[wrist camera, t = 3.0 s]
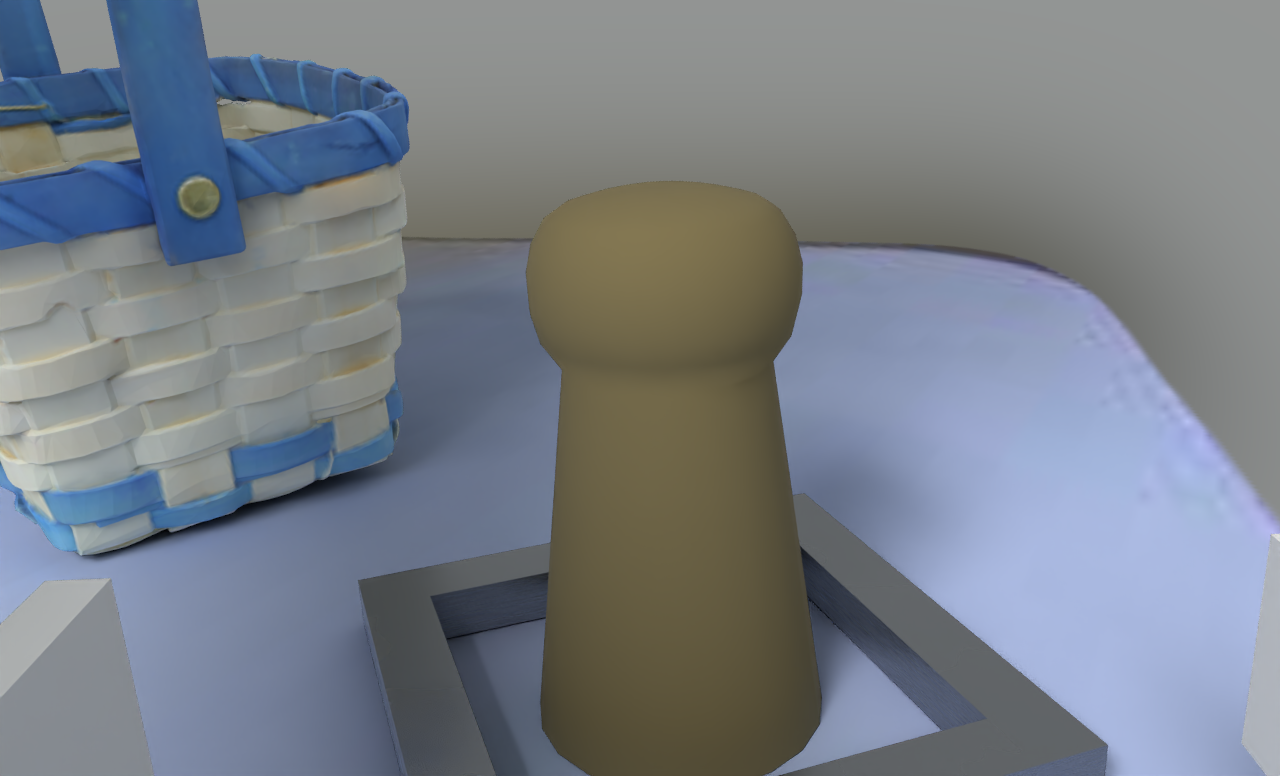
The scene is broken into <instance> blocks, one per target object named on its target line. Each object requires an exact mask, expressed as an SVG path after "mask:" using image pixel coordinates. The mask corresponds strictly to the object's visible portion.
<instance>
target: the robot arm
mask: <svg viewBox="0 0 1280 776" xmlns="http://www.w3.org/2000/svg"><path fill="white" fill-rule="evenodd" d="M1242 744H1243V746H1244V747H1245V748H1246V750H1247V751H1248V752H1249V753H1250V755H1251V756H1252V757H1253V759H1254V760H1255V761H1256V762H1257V764H1258V765H1259V766H1260V768H1261V769H1262V770H1263V771H1264V773H1265V774H1266V775H1267V776H1280V534H1271V538H1270V545H1269V552H1268V559H1267V566H1266V573H1265V580H1264V587H1263V594H1262V601H1261V608H1260V616H1259V623H1258V630H1257V637H1256V644H1255V651H1254V658H1253V665H1252V672H1251V679H1250V686H1249V693H1248V700H1247V708H1246V715H1245V722H1244V729H1243V736H1242ZM0 776H154V772H153V768H152V763H151V759H150V754H149V749H148V745H147V740H146V736H145V731H144V727H143V722H142V718H141V713H140V709H139V704H138V699H137V695H136V690H135V686H134V681H133V677H132V672H131V668H130V663H129V659H128V654H127V650H126V645H125V640H124V636H123V631H122V627H121V622H120V618H119V613H118V609H117V604H116V600H115V595H114V590H113V586H112V581H111V578H109V579H82V580H56V581H44V582H43V583H42V584H41V585H40V586H39V587H38V588H37V589H36V590H35V591H34V592H33V593H32V594H31V595H30V596H29V597H28V598H27V599H26V600H25V601H24V602H23V603H22V604H21V605H20V606H19V607H18V608H17V609H16V610H15V611H14V612H13V613H12V614H11V615H9V616H8V617H7V618H6V619H5V620H4V621H3V622H2V623H1V624H0Z"/></svg>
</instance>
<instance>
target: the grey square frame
mask: <svg viewBox="0 0 1280 776" xmlns="http://www.w3.org/2000/svg"><path fill="white" fill-rule="evenodd" d="M793 502H794V509H795V516H796V523H797V530H798V537H799V544H800V551H801V558H802V565H803V572H804V579H805V585H806V592H807V596H808V597H809V598H810V599H811V600H812V601H813V602H814V603H815V604H816V605H817V606H818V607H819V608H820V609H821V610H822V611H823V612H824V613H825V614H826V615H827V616H828V617H829V618H830V619H831V620H832V621H833V622H834V623H835V624H836V625H837V626H838V627H839V628H840V629H841V630H842V631H843V632H844V633H845V634H846V635H847V636H848V637H849V638H850V639H851V640H852V641H853V642H854V643H855V644H856V645H857V646H858V647H859V648H860V649H861V650H862V651H863V652H864V653H865V654H866V655H867V656H868V657H869V658H870V659H871V660H872V661H873V662H874V663H875V664H876V665H877V666H878V667H879V668H880V669H881V670H882V671H883V672H884V673H885V674H886V675H887V676H888V677H889V678H890V679H891V680H892V681H893V682H894V683H895V684H896V685H897V686H898V687H899V688H900V689H901V690H902V691H903V692H904V693H905V694H906V695H907V696H908V697H909V698H910V699H911V700H912V701H913V702H914V703H915V704H916V705H917V706H918V707H919V708H920V709H921V710H922V711H923V712H924V713H925V714H926V715H927V716H928V717H929V718H930V719H931V720H932V721H933V722H934V723H935V724H936V725H937V726H938V727H939V728H940V729H941V730H942V731H940V732H936V733H933V734H929V735H925V736H922V737H918V738H915V739H911V740H907V741H904V742H900V743H896V744H893V745H889V746H885V747H882V748H878V749H874V750H871V751H867V752H863V753H860V754H856V755H852V756H849V757H845V758H841V759H838V760H834V761H831V762H827V763H823V764H820V765H816V766H812V767H809V768H805V769H801V770H798V771H794V772H790V773H787V774H783V775H779V776H1105V768H1106V758H1107V749H1108V745H1107V744H1106V743H1105V742H1104V741H1102V740H1101V739H1100V738H1099V737H1098V736H1096V735H1095V734H1094V733H1093V732H1092V731H1090V730H1089V729H1088V728H1087V727H1085V726H1084V725H1083V724H1082V723H1081V722H1079V721H1078V720H1077V719H1076V718H1075V717H1073V716H1072V715H1071V714H1070V713H1069V712H1067V711H1066V710H1065V709H1064V708H1063V707H1061V706H1060V705H1059V704H1058V703H1057V702H1055V701H1054V700H1053V699H1052V698H1050V697H1049V696H1048V695H1047V694H1046V693H1044V692H1043V691H1042V690H1041V689H1040V688H1038V687H1037V686H1036V685H1035V684H1034V683H1032V682H1031V681H1030V680H1029V679H1028V678H1026V677H1025V676H1024V675H1023V674H1022V673H1020V672H1019V671H1018V670H1017V669H1015V668H1014V667H1013V666H1012V665H1011V664H1009V663H1008V662H1007V661H1006V660H1005V659H1003V658H1002V657H1001V656H1000V655H999V654H997V653H996V652H995V651H994V650H993V649H991V648H990V647H989V646H988V645H987V644H985V643H984V642H983V641H982V640H980V639H979V638H978V637H977V636H976V635H974V634H973V633H972V632H971V631H970V630H968V629H967V628H966V627H965V626H964V625H962V624H961V623H960V622H959V621H958V620H956V619H955V618H954V617H953V616H952V615H950V614H949V613H948V612H947V611H945V610H944V609H943V608H942V607H941V606H939V605H938V604H937V603H936V602H935V601H933V600H932V599H931V598H930V597H929V596H927V595H926V594H925V593H924V592H923V591H921V590H920V589H919V588H918V587H917V586H915V585H914V584H913V583H912V582H910V581H909V580H908V579H907V578H906V577H904V576H903V575H902V574H901V573H900V572H898V571H897V570H896V569H895V568H894V567H892V566H891V565H890V564H889V563H888V562H886V561H885V560H884V559H883V558H882V557H880V556H879V555H878V554H877V553H875V552H874V551H873V550H872V549H871V548H869V547H868V546H867V545H866V544H865V543H863V542H862V541H861V540H860V539H859V538H857V537H856V536H855V535H854V534H853V533H851V532H850V531H849V530H848V529H847V528H845V527H844V526H843V525H842V524H840V523H839V522H838V521H837V520H836V519H834V518H833V517H832V516H831V515H830V514H828V513H827V512H826V511H825V510H824V509H822V508H821V507H820V506H819V505H818V504H816V503H815V502H814V501H813V500H812V499H810V498H809V497H808V496H807V495H805V494H804V493H803V494H798V495H793ZM550 546H551V543H547V544H542V545H537V546H531V547H526V548H521V549H516V550H511V551H506V552H501V553H496V554H491V555H485V556H480V557H475V558H470V559H465V560H460V561H455V562H450V563H444V564H439V565H434V566H429V567H424V568H419V569H414V570H409V571H403V572H398V573H393V574H388V575H383V576H378V577H373V578H368V579H362V580H358V584H359V591H360V598H361V605H362V613H363V620H364V626H365V630H366V634H367V638H368V642H369V646H370V650H371V654H372V658H373V662H374V666H375V670H376V674H377V678H378V682H379V687H380V691H381V695H382V699H383V703H384V707H385V711H386V715H387V719H388V723H389V727H390V731H391V735H392V739H393V743H394V748H395V752H396V756H397V760H398V764H399V768H400V772H401V776H496V773H495V771H494V768H493V765H492V763H491V760H490V757H489V754H488V752H487V749H486V746H485V744H484V741H483V738H482V735H481V733H480V730H479V727H478V725H477V722H476V719H475V716H474V714H473V711H472V708H471V706H470V703H469V700H468V698H467V695H466V692H465V689H464V687H463V684H462V681H461V679H460V676H459V673H458V670H457V668H456V665H455V662H454V660H453V657H452V654H451V651H450V649H449V646H448V643H447V641H446V638H451V637H455V636H460V635H465V634H469V633H474V632H479V631H483V630H488V629H493V628H497V627H502V626H507V625H511V624H516V623H521V622H525V621H530V620H535V619H539V618H544V617H546V607H547V592H548V577H549V561H550Z"/></svg>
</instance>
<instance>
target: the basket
mask: <svg viewBox="0 0 1280 776" xmlns="http://www.w3.org/2000/svg"><path fill="white" fill-rule="evenodd" d="M106 1H107V6H108V11H109V15H110V20H111V25H112V30H113V35H114V40H115V44H116V49H117V54H118V59H119V64H120V68H111V69H97V68H92V69H84V70H82V71H80V72H76V73H67V74H61V71H60V67H59V64H58V59H57V56H56V53H55V50H54V47H53V43H52V40H51V36H50V33H49V30H48V27H47V23H46V20H45V16H44V13H43V10H42V6H41V3H40V0H0V69H1V72H2V75H3V79H4V81H3V82H0V486H1V487H3V488H5V489H8V490H10V491H12V492H14V493H15V495H16V499H15V503H14V504H15V509H16V511H18V512H20V513H21V514H23V515H24V516H26V517H27V518H28V519H30V520H31V521H32V522H34V523H35V524H39V526H40V527H41V529H42V530H43V532H44V534H45V535H46V537H47V538H48V540H49V541H50V542H51V543H52V544H53V545H54V546H55V547H56V548H58V549H59V550H63V551H74V552H75V553H78V554H80V556H82V555H91V554H98V553H103V552H107V551H111V550H116V549H119V548H123V547H126V546H129V545H131V544H134V543H136V542H138V541H141V540H143V539H145V538H147V537H149V536H151V535H153V534H156V533H158V532H160V531H162V530H165V529H168V530H169V531H170V532H174V531H178V530H181V529H184V528H186V527H189V526H192V525H195V524H198V523H200V522H203V521H208V520H211V519H214V518H217V517H220V516H224V515H227V514H231V513H233V512H234V511H235V510H236V509H237V508H239V507H240V506H242V505H244V504H247V503H253V502H258V501H264V500H268V499H272V498H275V497H279V496H282V495H286V494H288V493H291V492H293V491H296V490H298V489H301V488H303V487H305V486H307V485H308V484H310V483H312V482H314V481H316V480H324V479H325V478H327V477H328V476H335V475H338V474H342V473H346V472H349V471H353V470H357V469H361V468H364V467H368V466H371V465H374V464H377V463H380V462H383V461H385V460H386V459H387V457H388V456H389V455H392V454H393V453H392V452H393V450H394V444H395V442H396V440H397V437H398V435H399V421H398V418H399V417H401V416H402V415H403V400H402V395H401V391H399V389H398V384H397V378H396V376H395V352H396V351H397V350H398V348H399V347H400V345H401V319H400V313H399V311H398V309H397V298H398V294H400V293H403V291H404V289H405V286H406V270H405V258H404V253H403V250H402V239H401V228H403V227H404V226H405V225H406V223H407V214H406V201H405V191H404V187H403V185H402V183H401V182H400V160H402V158H403V155H405V154H406V153H407V152H408V151H409V137H408V130H407V123H408V114H409V106H408V102H407V100H406V98H405V96H404V95H403V94H401V93H400V92H398V91H397V89H395V88H394V87H392V86H391V85H390V84H388V83H386V82H385V81H384V80H383V79H382V78H380V77H377V76H369V77H362V76H359V75H356V74H354V73H353V72H352V71H351V70H350V69H348V68H339V69H336V70H334V69H331V68H327V67H323V66H320V65H317V64H316V63H315V62H312V61H310V60H307V61H295V60H294V61H288V60H281V59H277V58H265V57H263V56H262V55H260V54H253V55H251V56H250V57H227V56H226V57H216V58H208V56H207V51H206V45H205V40H204V34H203V29H202V23H201V18H200V13H199V7H198V2H197V0H106ZM222 99H230V100H232V101H244V102H247V101H251V103H246V104H243V105H242V104H238V103H236V104H232V103H229V104H225V105H220V104H217V103H216V102H218V101H220V100H222ZM66 162H68V163H66Z"/></svg>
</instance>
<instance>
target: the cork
mask: <svg viewBox="0 0 1280 776" xmlns="http://www.w3.org/2000/svg"><path fill="white" fill-rule="evenodd" d="M802 272H803V262H802V258H801V254H800V250H799V246H798V242H797V238H796V234H795V232H794V231H793V229H792V228H791V226H790V224H789V223H788V221H787V219H786V218H785V216H784V215H783V213H782V212H781V210H780V209H779V208H778V207H776V206H775V205H774V204H772V203H771V202H769V201H768V200H766V199H764V198H763V197H761V196H759V195H758V194H756V193H753V192H749V191H745V190H741V189H737V188H732V187H727V186H721V185H716V184H708V183H700V182H684V181H656V182H644V183H637V184H629V185H623V186H618V187H613V188H608V189H604V190H600V191H597V192H594V193H590V194H586V195H583V196H580V197H577V198H574V199H571V200H568V201H567V202H565V203H564V204H562V205H561V206H560V207H558V208H557V209H556V210H554V211H553V212H552V213H550V214H549V215H547V216H546V217H545V218H543V221H542V222H541V224H540V227H539V228H538V230H537V232H536V234H535V236H534V238H533V240H532V242H531V244H530V250H529V256H528V262H527V268H526V280H527V290H528V301H529V309H530V315H531V318H532V321H533V324H534V327H535V330H536V332H537V335H538V338H539V341H540V344H541V345H542V346H543V348H544V349H545V350H546V351H547V352H548V354H549V355H550V356H551V357H552V358H553V360H554V361H555V362H556V363H557V364H558V366H559V367H560V368H561V369H562V376H561V392H560V407H559V423H558V438H557V453H556V469H555V484H554V500H553V515H552V530H551V546H550V561H549V577H548V592H547V607H546V623H545V638H544V654H543V669H542V684H541V700H540V705H541V719H542V729H543V731H544V732H545V734H546V735H547V737H548V738H549V740H550V741H551V743H552V745H553V746H554V748H555V749H556V751H557V752H558V754H560V755H561V756H562V757H564V758H565V759H567V760H568V761H570V762H571V763H573V764H574V765H576V766H577V767H578V768H580V769H581V770H583V771H584V772H586V773H587V774H589V775H591V776H762V775H765V774H767V773H770V772H772V771H774V770H775V769H776V768H778V767H779V766H781V765H782V764H784V763H785V762H786V761H788V760H789V759H791V758H792V757H793V756H795V755H796V754H798V753H799V752H801V751H802V750H803V749H804V747H805V746H806V744H807V743H808V741H809V739H810V738H811V736H812V735H813V733H814V732H815V730H816V729H817V727H818V726H819V724H820V712H821V699H822V697H821V690H820V683H819V676H818V669H817V662H816V655H815V648H814V641H813V634H812V627H811V620H810V613H809V606H808V599H807V592H806V585H805V579H804V572H803V565H802V558H801V551H800V544H799V537H798V530H797V523H796V516H795V509H794V502H793V495H792V488H791V481H790V474H789V467H788V460H787V453H786V446H785V439H784V432H783V425H782V418H781V412H780V405H779V398H778V391H777V384H776V377H775V370H774V363H773V361H774V359H775V358H776V357H777V355H778V354H779V352H780V351H781V350H782V348H783V347H784V345H785V344H786V343H787V341H788V340H789V338H790V337H791V335H792V331H793V327H794V324H795V320H796V316H797V312H798V308H799V304H800V300H801V296H802Z"/></svg>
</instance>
